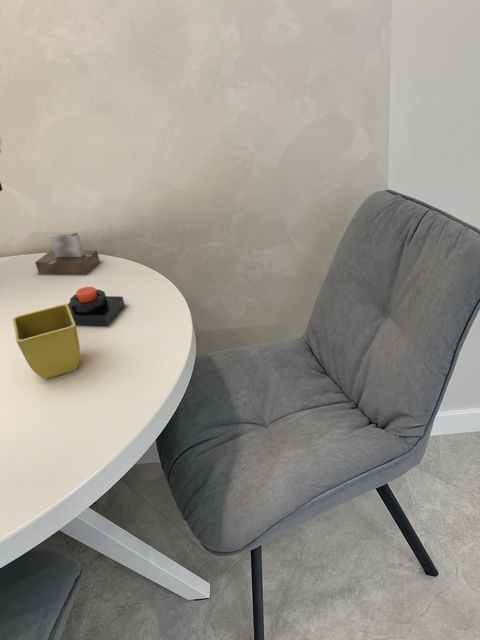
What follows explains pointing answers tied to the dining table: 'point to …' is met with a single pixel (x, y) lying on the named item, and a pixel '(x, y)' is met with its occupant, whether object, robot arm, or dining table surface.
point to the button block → (96, 310)
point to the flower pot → (48, 340)
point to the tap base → (67, 263)
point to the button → (86, 294)
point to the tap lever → (67, 245)
